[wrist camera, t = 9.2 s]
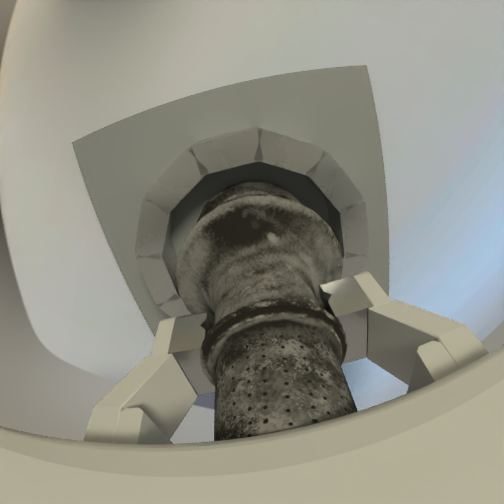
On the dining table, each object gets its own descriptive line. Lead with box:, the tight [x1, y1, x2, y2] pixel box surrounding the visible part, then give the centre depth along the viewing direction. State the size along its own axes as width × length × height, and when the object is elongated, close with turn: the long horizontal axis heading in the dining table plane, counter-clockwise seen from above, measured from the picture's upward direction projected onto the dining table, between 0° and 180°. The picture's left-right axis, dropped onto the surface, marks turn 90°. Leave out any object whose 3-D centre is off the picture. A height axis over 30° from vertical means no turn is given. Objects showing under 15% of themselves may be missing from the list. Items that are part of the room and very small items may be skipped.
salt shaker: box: [176, 181, 358, 441], centre depth 8 cm, size 6×6×12 cm
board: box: [72, 65, 389, 336], centre depth 14 cm, size 14×14×1 cm
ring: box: [134, 127, 369, 318], centre depth 13 cm, size 10×10×2 cm
